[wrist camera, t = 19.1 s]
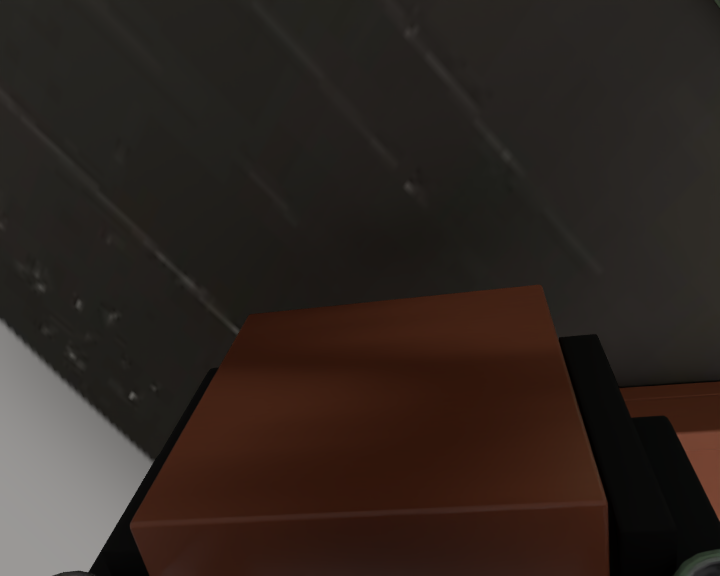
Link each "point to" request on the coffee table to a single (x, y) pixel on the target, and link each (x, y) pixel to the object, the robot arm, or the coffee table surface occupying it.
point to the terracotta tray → (687, 424)
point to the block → (384, 449)
